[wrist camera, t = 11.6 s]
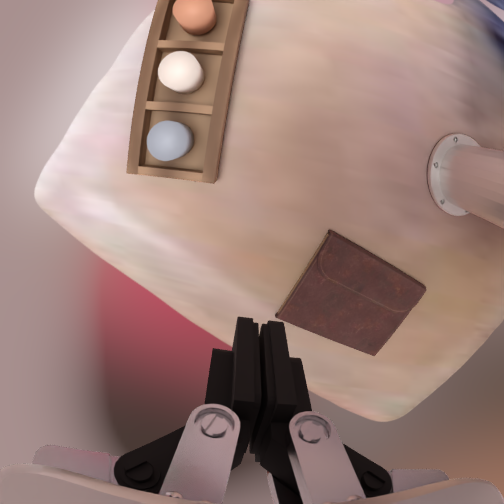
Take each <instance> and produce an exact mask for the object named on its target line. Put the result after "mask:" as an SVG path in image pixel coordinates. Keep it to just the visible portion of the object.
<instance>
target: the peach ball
mask: <svg viewBox="0 0 504 504" xmlns="http://www.w3.org/2000/svg"><path fill="white" fill-rule="evenodd" d="M173 15H174V16H175V18H176V19H177V21H178V23H179V24H180V26H181V27H182V29H183V30H184V31H185V32H186V33H188V34H191V35H201V34H204V33H207V32H208V31H210V30H211V29H212V28H213V27H214V25H215V23H216V14H215V10H214V7H213V3H212V0H176V2H175V3H174V5H173Z"/></svg>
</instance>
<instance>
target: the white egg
mask: <svg viewBox="0 0 504 504" xmlns="http://www.w3.org/2000/svg"><path fill="white" fill-rule="evenodd" d="M158 76H159V79H160V81H161V82H162V83H163V84H164V85H165V86H167V87H169V88H170V89H172V90H174V91H175V92H177V93H180V94H189V93H192V92H194V91H196V90H197V89H198V88H199V87H200V86H201V85H202V83H203V81H204V70H203V68H202V67H201V65H200V64H199V62H198V61H197V60H196V58H195V57H194V56H193V55H192V54H190V53H188V52H185V51H176V52H173V53H170V54H169V55H167V56H166V57H165V58H164V59H163V60H162V61H161V63H160V65H159V68H158Z"/></svg>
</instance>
